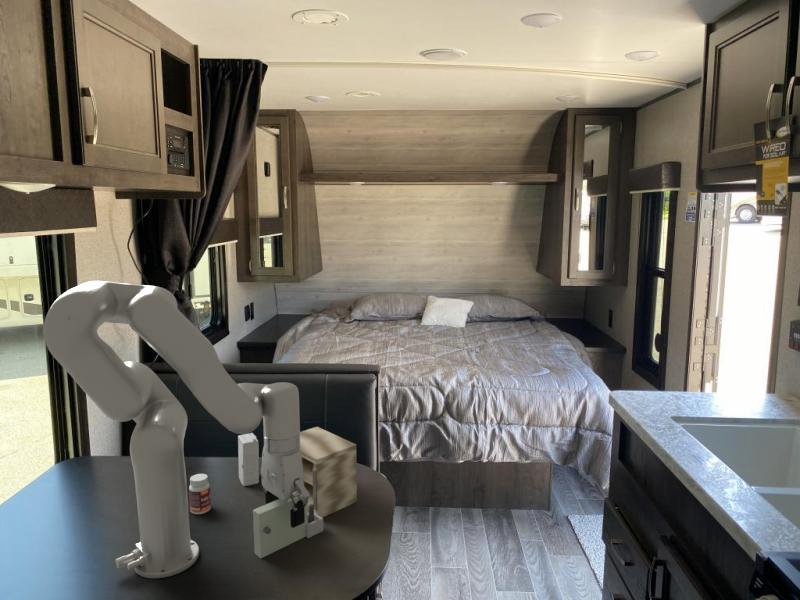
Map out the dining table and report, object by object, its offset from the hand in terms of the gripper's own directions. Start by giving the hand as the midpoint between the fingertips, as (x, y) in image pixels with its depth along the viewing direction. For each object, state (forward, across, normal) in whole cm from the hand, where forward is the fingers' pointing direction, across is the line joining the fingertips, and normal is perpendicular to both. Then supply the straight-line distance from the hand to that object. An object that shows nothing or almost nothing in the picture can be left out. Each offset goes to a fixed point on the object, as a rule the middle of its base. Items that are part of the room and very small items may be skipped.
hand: (284, 516), depth 124 cm
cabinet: (+6, -9, +14) cm, 18 cm away
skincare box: (+6, -31, +9) cm, 33 cm away
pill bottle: (+6, -26, -7) cm, 28 cm away
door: (+6, 0, +1) cm, 6 cm away
